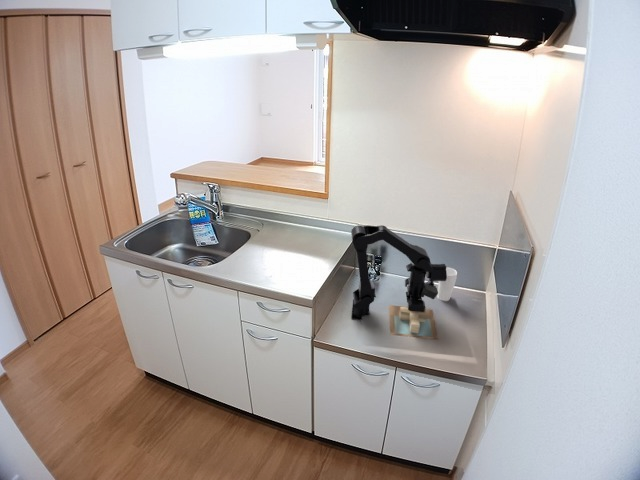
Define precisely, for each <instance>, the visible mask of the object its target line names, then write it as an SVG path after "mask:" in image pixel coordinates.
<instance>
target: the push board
mask: <svg viewBox="0 0 640 480" xmlns="http://www.w3.org/2000/svg"><path fill="white" fill-rule="evenodd" d="M400 307H404V306H400V305H391V304H388V314H389V315H388V316H389V318H388V319H389V320H388V321H389V335H392V336H400V337H410V338H411V337H412V338H419V339H429V340H438V341H439V340H440V339H439V338H440V337H439V334H438V330H437V324H436V320H435V316H434V310H433V309H431V308H425V309H426V313H427V316H426V321H425V322H420V321H419V324H420V326H419V332H418V333H412V332H410V327H409V320H400V317H399V313H400ZM406 307H407V308H408V306H406Z"/></svg>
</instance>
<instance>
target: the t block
mask: <svg viewBox="0 0 640 480" xmlns="http://www.w3.org/2000/svg"><path fill="white" fill-rule="evenodd" d="M407 307H408V306H403V307H400V313H399V317H400V320H409V327H410V332H412V333H418V332H419V326H420V324H419V321H420V322H425V321H426V316H427V313H426V309H427V308H425V311H424V312H417V311H409V310H408V308H407Z"/></svg>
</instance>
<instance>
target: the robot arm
mask: <svg viewBox="0 0 640 480" xmlns="http://www.w3.org/2000/svg"><path fill="white" fill-rule="evenodd" d="M351 241H352V245H353V248H354V251H355V253H356V257H357V259H356V260H357V266H358V273H359V274H358V275H359V282H358V283H359V284H358V288H357V289H355V290H354V291H353V292H352V297H353V299H352V306H351V307H352V308H351V317H350V318H351V319H352V320H363V317H364V316H369V315H370V305H371V304H373V302H374V301H375V298H377V296H376V294H377V293H376V286H375V281H374V279H372V280H371V279H370V274H369V272H370V271H369V265H368V264H369V263H368V253H367V251H368V247H369V245H373V244H375V243H377V242H379V241H383V242H385V243H387V244H388V245H390V246H391V247H393V248H394V249H395V250H397V251H399V252H401V253H402V254H403V255H404V256H406V257H407V259H408V260H409V261H410V263H409V264H407V265H405V267H406V270H407V272H410V274H409V277H407V278H405V280H404V287H405V288H406V289H407V291H406V292H405V295H406V303H407V307H408V310H409V311H417V312H424V311H425V309H427V308H426V303H425V301H424V299H423V298H425V297H427V298H430V299H431V300H435V299H436V298H437V294H438V287H437V286H436V285H435V282H439V281H446V279H447V272H446V267H447V265H446V264H445V263H439V264H438V263H437V264H436V263H432V262H431V258H430V257H429V255H428V252H427V251H426V249H425V248H423V247H420V246H418V245H414V244H411V243H409V241H406V240H405V239H404V238H402V237H401V236H399V235H398V234H396V233H395V232H393V231H392V230H390V229H389V228H388V227H387V226H386V225H371V224H368V225H356V226H354V227H352V229H351ZM426 279H428V281H426ZM425 281H426V282H425Z"/></svg>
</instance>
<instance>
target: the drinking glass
mask: <svg viewBox="0 0 640 480" xmlns="http://www.w3.org/2000/svg"><path fill="white" fill-rule="evenodd" d="M446 272H447V279H446V281H438V285H437V290H438V294H437V296H436V298H437V299H438V300H440V301H442V302H448V301H450V299H451V296H452V294H453V289H454V287H455V284H456V281H457V276H458V271H457V270H456V269H455V268H453V267H447V266H446Z"/></svg>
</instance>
